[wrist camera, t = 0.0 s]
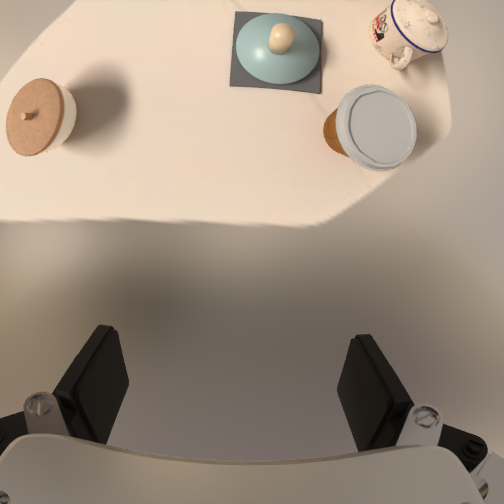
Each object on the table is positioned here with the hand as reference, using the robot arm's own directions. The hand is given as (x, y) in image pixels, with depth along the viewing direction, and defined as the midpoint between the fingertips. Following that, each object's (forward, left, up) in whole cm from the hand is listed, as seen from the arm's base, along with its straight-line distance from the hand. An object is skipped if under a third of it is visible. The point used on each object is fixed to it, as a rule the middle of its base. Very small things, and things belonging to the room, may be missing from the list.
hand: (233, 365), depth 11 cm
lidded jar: (-14, -28, -32) cm, 44 cm away
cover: (-23, +4, -31) cm, 39 cm away
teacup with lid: (-27, +21, -31) cm, 47 cm away
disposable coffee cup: (-12, +14, -31) cm, 36 cm away
